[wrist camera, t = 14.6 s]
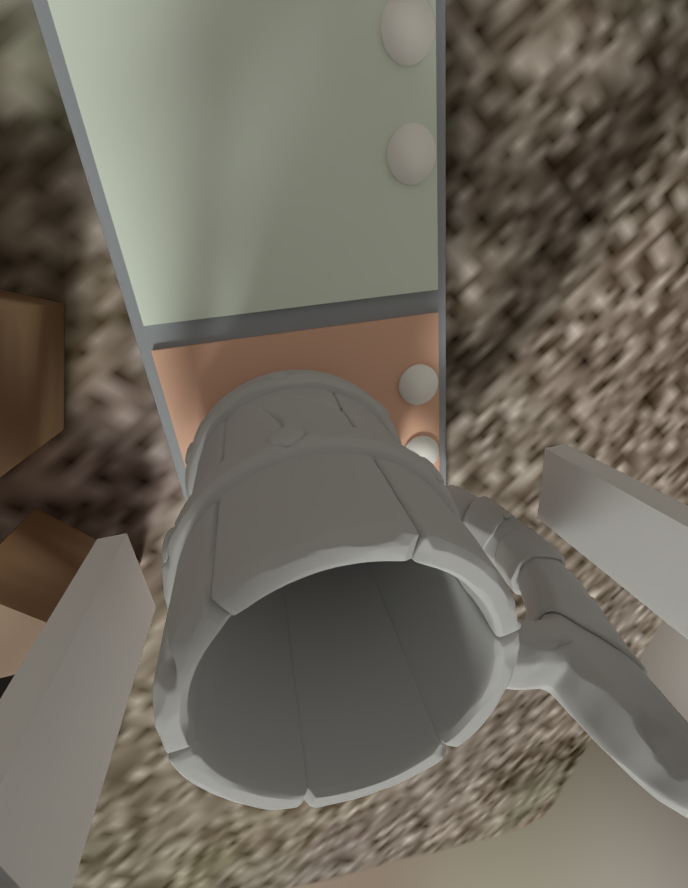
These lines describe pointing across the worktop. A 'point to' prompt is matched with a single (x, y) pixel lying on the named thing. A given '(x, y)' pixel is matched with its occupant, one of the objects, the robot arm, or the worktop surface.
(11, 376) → the walnut block
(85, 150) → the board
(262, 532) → the mug
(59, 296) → the worktop surface
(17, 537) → the walnut block
